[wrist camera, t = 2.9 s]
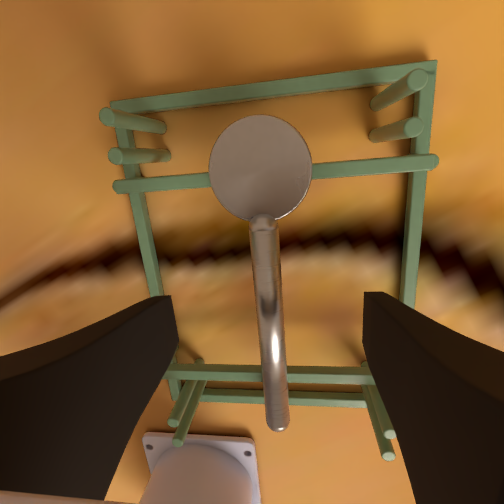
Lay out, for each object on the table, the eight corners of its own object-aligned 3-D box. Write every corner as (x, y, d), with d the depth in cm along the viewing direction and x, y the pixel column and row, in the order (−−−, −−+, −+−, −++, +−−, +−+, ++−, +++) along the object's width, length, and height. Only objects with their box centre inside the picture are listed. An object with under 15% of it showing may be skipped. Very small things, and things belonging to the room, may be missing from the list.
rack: (401, 402, 17) (436, 481, 13) (175, 393, 20) (142, 459, 15) (431, 63, 12) (506, 14, 8) (115, 103, 14) (41, 81, 10)
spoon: (317, 419, 15) (319, 440, 14) (242, 415, 16) (238, 435, 15) (310, 110, 11) (312, 105, 10) (206, 122, 12) (197, 118, 10)
